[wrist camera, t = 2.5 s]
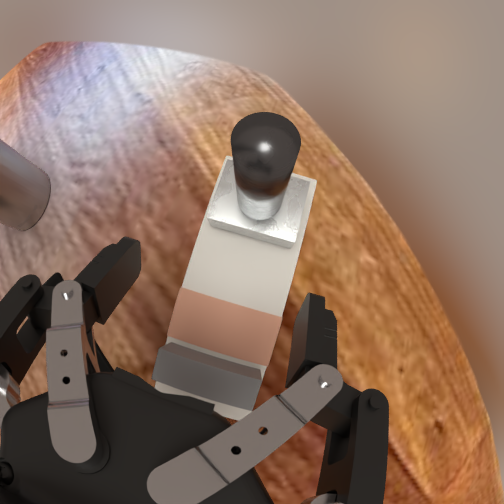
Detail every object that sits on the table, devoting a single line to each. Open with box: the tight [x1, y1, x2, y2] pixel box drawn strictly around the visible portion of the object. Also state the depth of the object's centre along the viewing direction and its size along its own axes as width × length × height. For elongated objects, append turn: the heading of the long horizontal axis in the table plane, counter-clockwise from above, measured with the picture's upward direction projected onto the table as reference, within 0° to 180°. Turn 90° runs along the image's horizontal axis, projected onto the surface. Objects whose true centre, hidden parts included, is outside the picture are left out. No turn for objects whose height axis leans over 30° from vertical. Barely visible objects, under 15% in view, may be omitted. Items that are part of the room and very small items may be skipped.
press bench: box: [152, 156, 317, 421], centre depth 26 cm, size 26×10×6 cm, turn 164°
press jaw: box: [207, 112, 310, 249], centre depth 22 cm, size 6×8×13 cm
